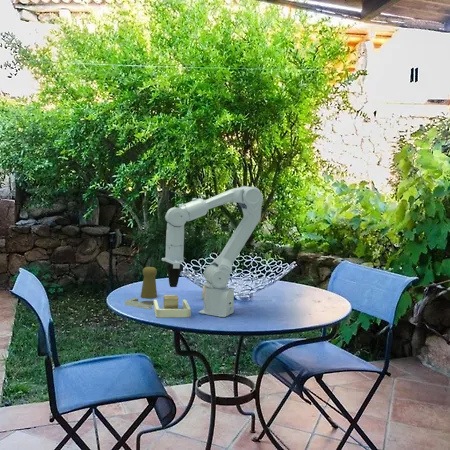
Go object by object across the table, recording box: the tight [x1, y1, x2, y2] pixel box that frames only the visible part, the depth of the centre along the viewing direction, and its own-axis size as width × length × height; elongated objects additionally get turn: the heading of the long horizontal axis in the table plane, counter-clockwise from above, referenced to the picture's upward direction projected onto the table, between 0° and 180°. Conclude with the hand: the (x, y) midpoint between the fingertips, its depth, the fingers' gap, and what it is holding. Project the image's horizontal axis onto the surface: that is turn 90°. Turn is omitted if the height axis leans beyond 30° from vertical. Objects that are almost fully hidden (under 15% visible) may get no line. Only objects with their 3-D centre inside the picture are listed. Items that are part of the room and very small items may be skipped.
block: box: [162, 294, 179, 309], centre depth 167 cm, size 4×4×4 cm
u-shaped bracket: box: [152, 299, 192, 319], centre depth 165 cm, size 13×11×2 cm
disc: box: [141, 300, 154, 306], centre depth 174 cm, size 6×6×1 cm
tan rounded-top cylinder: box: [202, 284, 205, 301], centre depth 185 cm, size 5×5×5 cm
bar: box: [124, 297, 153, 310], centre depth 171 cm, size 10×6×2 cm, turn 64°
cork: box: [140, 266, 158, 300], centre depth 184 cm, size 6×6×11 cm
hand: (173, 286), depth 161 cm, fingers closed
